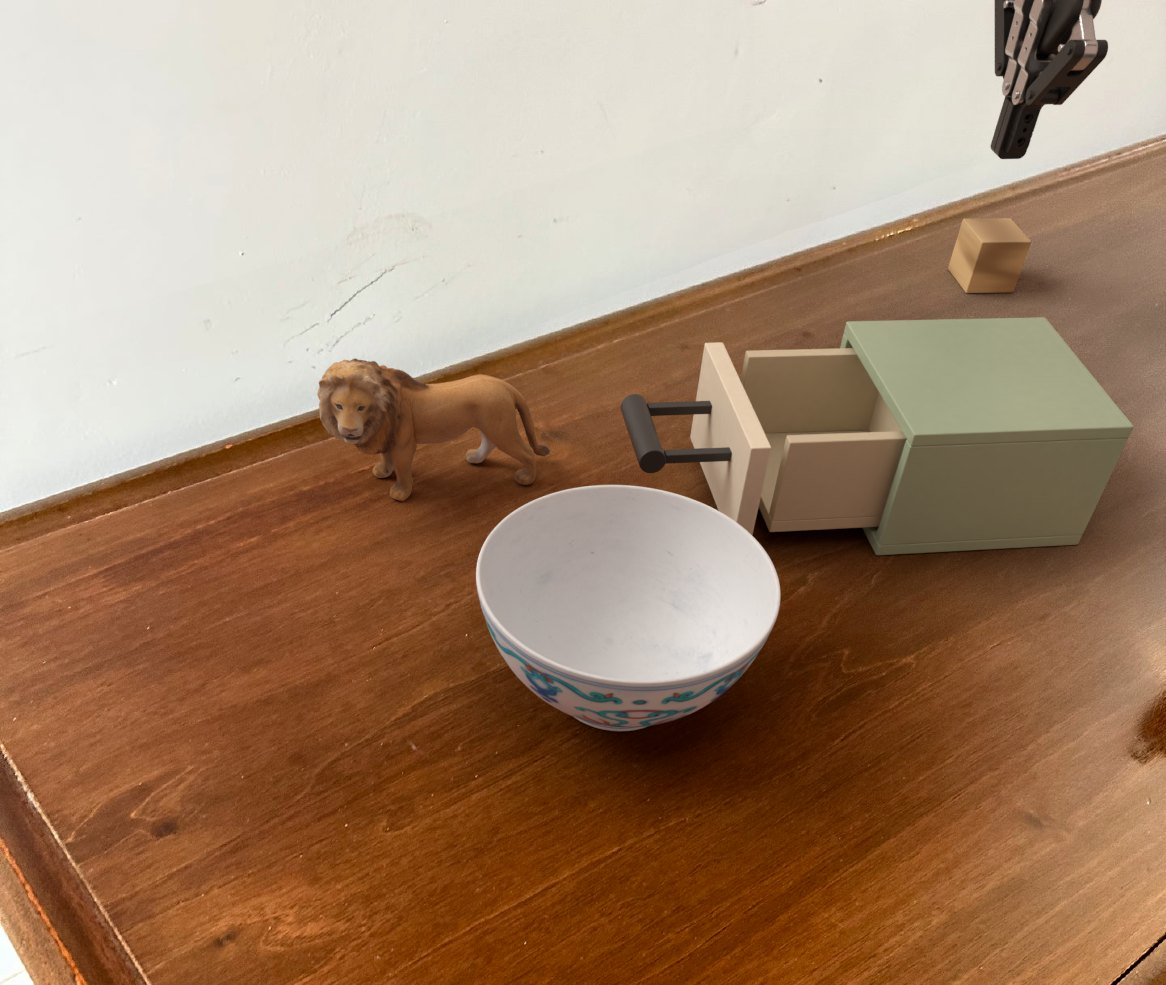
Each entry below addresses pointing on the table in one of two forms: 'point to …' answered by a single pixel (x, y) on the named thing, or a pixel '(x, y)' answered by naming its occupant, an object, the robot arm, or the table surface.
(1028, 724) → the table surface
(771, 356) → the drawer
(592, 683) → the chinaware
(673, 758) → the table surface
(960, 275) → the birch block
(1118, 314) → the table surface
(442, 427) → the lion figurine
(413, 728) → the table surface
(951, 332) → the cabinet
